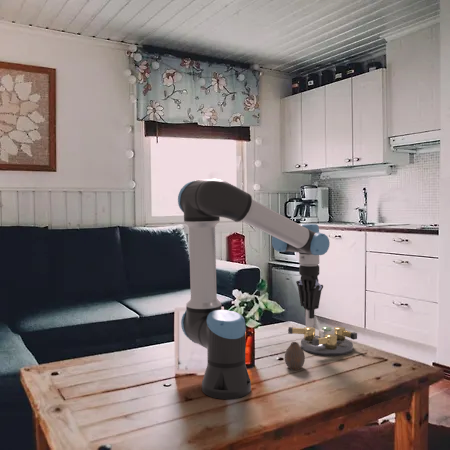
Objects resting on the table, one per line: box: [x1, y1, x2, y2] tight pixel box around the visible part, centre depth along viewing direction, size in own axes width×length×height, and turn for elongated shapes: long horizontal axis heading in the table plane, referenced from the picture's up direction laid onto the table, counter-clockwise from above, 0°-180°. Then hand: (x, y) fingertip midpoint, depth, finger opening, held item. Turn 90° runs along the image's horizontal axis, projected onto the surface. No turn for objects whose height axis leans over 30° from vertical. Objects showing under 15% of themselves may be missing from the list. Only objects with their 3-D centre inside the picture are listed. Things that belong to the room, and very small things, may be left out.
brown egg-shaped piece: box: [284, 341, 306, 371], centre depth 164 cm, size 7×7×9 cm
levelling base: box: [300, 326, 354, 357], centre depth 186 cm, size 20×20×8 cm
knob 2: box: [312, 334, 337, 349], centre depth 178 cm, size 11×4×4 cm, turn 121°
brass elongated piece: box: [333, 326, 358, 341], centre depth 187 cm, size 11×4×4 cm, turn 31°
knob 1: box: [287, 326, 316, 341], centre depth 190 cm, size 11×4×4 cm, turn 76°
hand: (309, 326), depth 180 cm, fingers closed
